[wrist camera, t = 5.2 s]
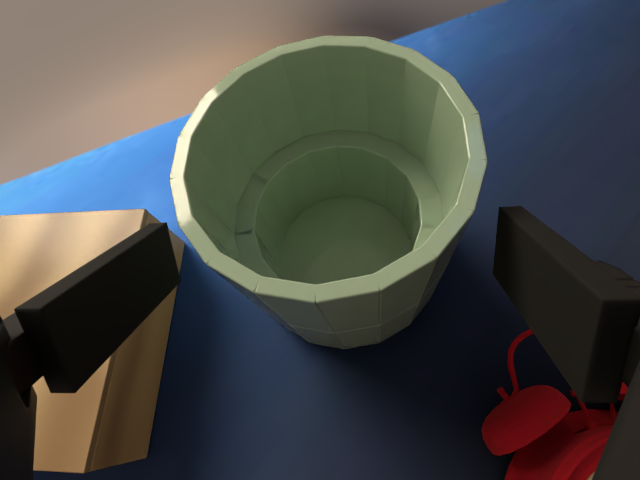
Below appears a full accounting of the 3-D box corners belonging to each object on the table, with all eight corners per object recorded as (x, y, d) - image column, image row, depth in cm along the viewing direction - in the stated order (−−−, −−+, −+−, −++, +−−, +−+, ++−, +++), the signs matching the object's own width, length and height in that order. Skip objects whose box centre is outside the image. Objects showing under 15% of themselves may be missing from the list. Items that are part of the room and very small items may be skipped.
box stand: (185, 242, 26) (145, 208, 22) (147, 458, 21) (83, 473, 16) (19, 248, 28) (-51, 217, 23) (-54, 448, 23) (-161, 459, 18)
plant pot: (427, 177, 25) (462, 20, 15) (446, 351, 21) (513, 301, 11) (266, 186, 27) (196, 48, 17) (251, 350, 23) (141, 304, 12)
